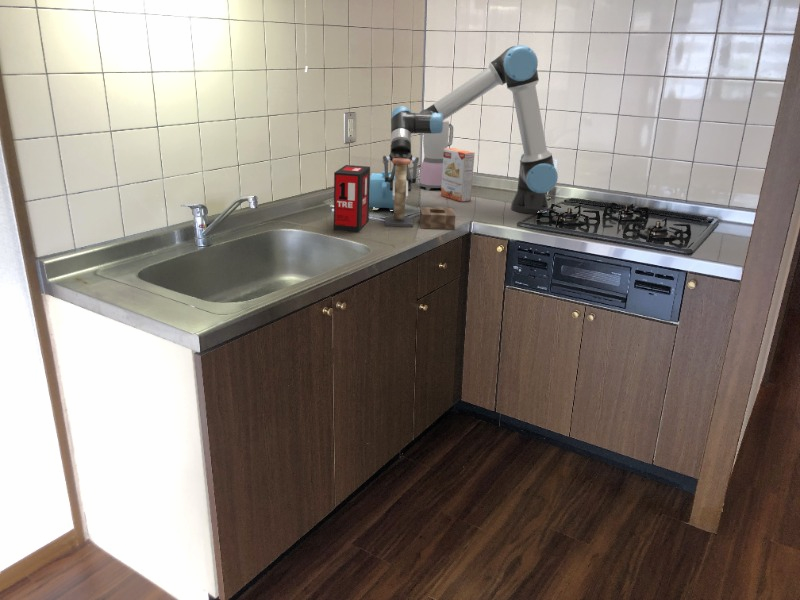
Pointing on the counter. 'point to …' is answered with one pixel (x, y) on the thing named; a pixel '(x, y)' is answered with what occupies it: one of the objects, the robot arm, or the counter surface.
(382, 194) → the teakettle
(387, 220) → the rubber mat
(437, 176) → the blender
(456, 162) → the cracker box
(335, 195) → the cleaning product box
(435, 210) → the eye block
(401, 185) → the wheel peg
